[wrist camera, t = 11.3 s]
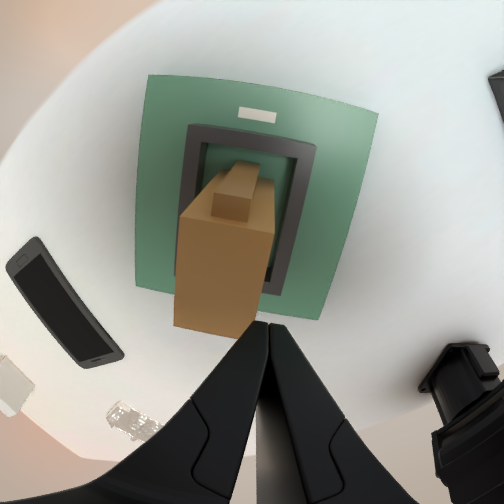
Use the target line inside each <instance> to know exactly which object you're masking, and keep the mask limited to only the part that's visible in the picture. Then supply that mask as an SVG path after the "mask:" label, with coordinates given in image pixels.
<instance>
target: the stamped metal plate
mask: <svg viewBox="0 0 504 504" xmlns="http://www.w3.org/2000/svg"><path fill="white" fill-rule="evenodd" d="M106 419H107V421H108V422H109V424H110V426H111V428H112V427H113V426H114V425H115V427H116V428H117V429H119V430H121V431H123V432H124V433H126V434H128V435H130V436H131V440H132V441H135V440H137V439H138V440H139V441H141V442H143V443H145V442H146V441H147V440H148V439H150V438H151V437H152V436H153V435H154V434H155V433H156V432H158V431H159V430H160V429H161V428H162V427H163V426H164V425H163V424H161V423H159V422H157V421H155V420H153V419H152V418H150V417H148V416H146V415H144V414H143V413H141V412H139V411H137V410H136V409H134V408H132V407H130V406H129V405H127V404H125V403H124V402H122V401H119V402H118V403H117V404H116V405H115V406H114V407H113V408H112V409H111V410H110V411H109V412H108V414H107V416H106Z"/></svg>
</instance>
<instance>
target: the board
mask: <svg viewBox="0 0 504 504" xmlns="http://www.w3.org/2000/svg"><path fill="white" fill-rule="evenodd" d="M377 118H378V113H375V112H372V111H369V110H366V109H362V108H359V107H356V106H352V105H349V104H345V103H342V102H338V101H334V100H330V99H326V98H322V97H318V96H314V95H310V94H305V93H301V92H296V91H291V90H286V89H281V88H276V87H270V86H264V85H258V84H252V83H245V82H238V81H230V80H222V79H212V78H202V77H189V76H172V75H148V81H147V88H146V94H145V101H144V109H143V117H142V125H141V135H140V145H139V156H138V170H137V186H136V209H135V280H136V286H138V287H143V288H147V289H151V290H156V291H160V292H165V293H169V294H174V295H175V276H176V259H177V245H178V232H179V220H180V216H181V214H182V213H183V212H184V211H185V210H186V209H187V207H188V206H189V205H190V204H191V203H192V202H193V200H194V199H195V198H196V197H197V196H198V195H199V194H200V192H201V191H202V190H203V189H204V188H205V187H206V186H207V185H208V183H209V182H210V181H211V180H212V179H213V178H214V177H215V176H216V175H217V174H218V172H219V171H220V170H225V171H230V170H231V169H232V167H233V166H234V165H235V163H236V162H237V161H238V160H242V161H247V162H253V163H258V164H260V168H259V174H258V176H259V177H264V178H270V179H274V214H275V234H274V239H273V243H272V248H271V252H270V257H269V261H268V265H267V270H266V274H265V278H264V283H263V287H262V291H261V296H260V300H259V304H258V309H257V311H262V312H268V313H274V314H280V315H286V316H293V317H299V318H306V319H312V320H318V319H319V316H320V314H321V311H322V308H323V305H324V303H325V300H326V297H327V294H328V291H329V289H330V286H331V283H332V280H333V277H334V274H335V271H336V268H337V265H338V262H339V259H340V256H341V253H342V249H343V246H344V243H345V240H346V237H347V233H348V230H349V227H350V223H351V220H352V217H353V213H354V210H355V206H356V203H357V199H358V196H359V192H360V188H361V184H362V181H363V177H364V173H365V169H366V165H367V161H368V157H369V153H370V149H371V145H372V140H373V136H374V132H375V127H376V123H377Z"/></svg>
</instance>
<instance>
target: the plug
mask: <svg viewBox="0 0 504 504" xmlns="http://www.w3.org/2000/svg"><path fill="white" fill-rule="evenodd" d="M259 168H260V164H258V163H253V162H247V161H242V160H238V161H237V162H236V163H235V165H234V166H233V167H232V169H231V170H230V171H225V170H220V171H219V172H218V174H217V175H216V176H215V177H214V178H213V179H212V180H211V181H210V182H209V183H208V185H207V186H206V187H205V188H204V189H203V190H202V191H201V192H200V194H199V195H198V196H197V197H196V198H195V199H194V200H193V202H192V203H191V204H190V205H189V206H188V207H187V209H186V210H185V211H184V212H183V213H182V214H181V216H180V220H179V232H178V245H177V259H176V276H175V296H174V324H173V326H176V327H181V328H185V329H190V330H194V331H199V332H204V333H209V334H214V335H219V336H224V337H229V338H234V339H239V337H240V336H241V335H242V334H243V332H244V331H245V330H246V329H247V327H248V326H249V325H250V324H251V322H252V321H254V320H255V317H256V313H257V309H258V304H259V300H260V296H261V291H262V287H263V283H264V278H265V274H266V270H267V265H268V261H269V257H270V252H271V248H272V243H273V239H274V234H275V214H274V179H270V178H264V177H259V176H258V174H259Z"/></svg>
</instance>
